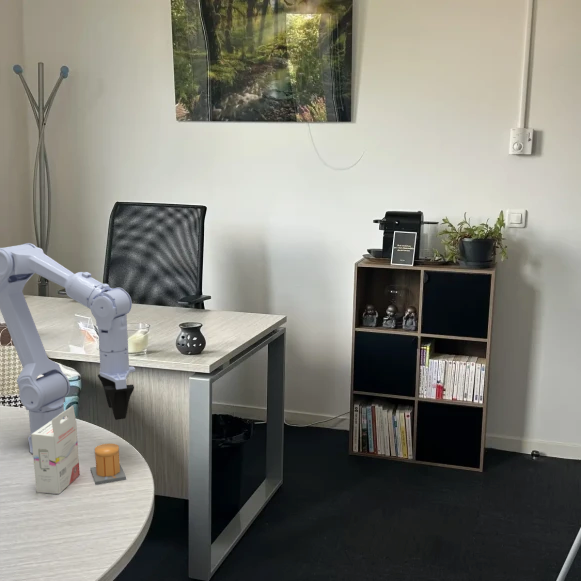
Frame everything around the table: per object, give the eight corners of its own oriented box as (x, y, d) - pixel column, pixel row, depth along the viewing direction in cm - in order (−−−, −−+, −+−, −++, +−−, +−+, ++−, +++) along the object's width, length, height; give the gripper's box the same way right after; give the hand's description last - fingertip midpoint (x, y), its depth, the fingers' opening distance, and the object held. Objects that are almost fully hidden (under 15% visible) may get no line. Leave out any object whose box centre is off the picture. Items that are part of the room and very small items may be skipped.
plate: (90, 470, 147) (89, 455, 146) (119, 465, 149) (119, 451, 149) (95, 484, 141) (94, 469, 140) (126, 479, 143) (125, 464, 142)
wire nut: (94, 469, 146) (93, 445, 145) (117, 465, 148) (116, 442, 147) (97, 478, 142) (96, 453, 141) (121, 474, 144) (120, 450, 143)
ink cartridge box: (57, 473, 146) (52, 402, 143) (80, 475, 145) (76, 404, 142) (34, 492, 137) (28, 418, 135) (58, 495, 136) (53, 420, 134)
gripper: (140, 355, 144) (143, 421, 146) (127, 338, 157) (130, 399, 159) (103, 359, 141) (107, 426, 143) (93, 342, 154) (96, 403, 157)
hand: (117, 412), depth 151 cm, fingers open, 7 cm apart
